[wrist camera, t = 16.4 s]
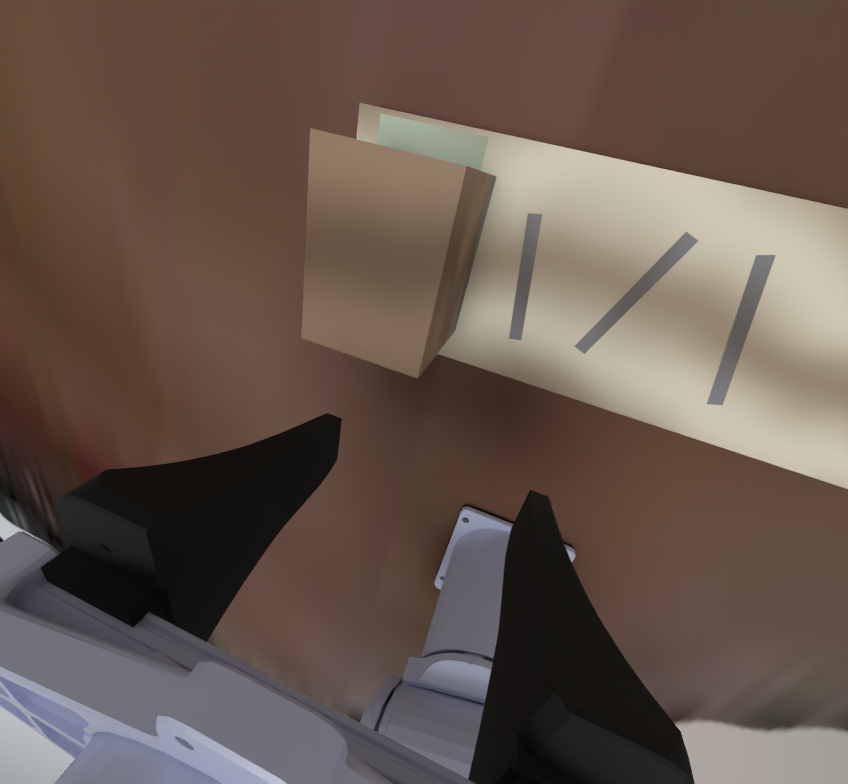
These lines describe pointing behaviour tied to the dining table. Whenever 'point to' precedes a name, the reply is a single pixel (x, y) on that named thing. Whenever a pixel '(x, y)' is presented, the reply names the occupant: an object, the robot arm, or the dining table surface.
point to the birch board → (653, 293)
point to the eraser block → (388, 249)
